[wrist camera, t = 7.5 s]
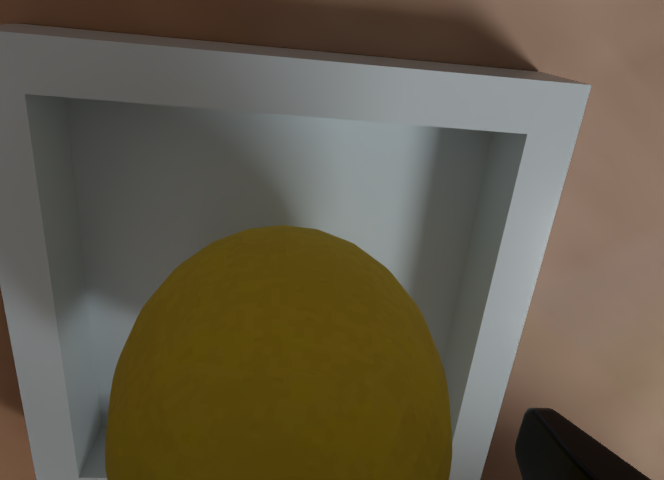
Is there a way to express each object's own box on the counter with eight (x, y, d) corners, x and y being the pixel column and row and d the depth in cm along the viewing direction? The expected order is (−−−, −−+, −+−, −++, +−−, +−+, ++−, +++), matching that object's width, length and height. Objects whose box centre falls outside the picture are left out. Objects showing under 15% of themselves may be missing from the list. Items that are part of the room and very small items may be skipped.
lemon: (123, 230, 12) (-128, 535, 4) (351, 147, 12) (484, 317, 4) (220, 413, 14) (158, 836, 6) (416, 343, 14) (583, 692, 6)
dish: (540, 71, 12) (591, 85, 10) (449, 446, 16) (472, 508, 14) (16, 23, 11) (-49, 26, 9) (74, 440, 15) (41, 506, 13)
